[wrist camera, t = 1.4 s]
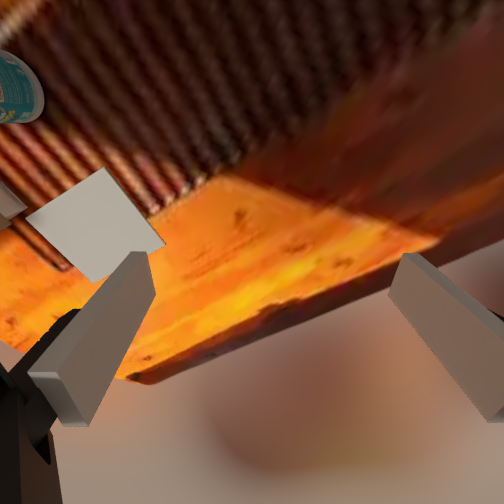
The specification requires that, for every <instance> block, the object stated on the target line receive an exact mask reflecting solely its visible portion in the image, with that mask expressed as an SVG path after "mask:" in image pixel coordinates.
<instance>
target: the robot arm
mask: <svg viewBox="0 0 504 504" xmlns="http://www.w3.org/2000/svg"><path fill="white" fill-rule="evenodd" d="M155 295H156V293H155V288H154V284H153V279H152V275H151V270H150V266H149V261H148V257H147V252H146V251H131V252H130V253H129V254H128V255H127V257H126V258H125V259H124V260H123V261H122V262H121V264H120V265H119V266H118V267H117V268H116V269H115V271H114V272H113V273H112V274H111V275H110V276H109V277H108V279H107V280H106V281H105V282H104V283H103V284H102V286H101V287H100V288H99V289H98V290H97V291H96V293H95V294H94V295H93V296H92V297H91V298H90V300H89V301H88V302H87V303H86V304H85V305H84V307H83V308H82V309H72V310H71V311H69V312H68V313H66V314H65V315H63V316H62V317H60V318H59V319H58V320H57V321H56V322H55V323H54V324H53V325H52V326H51V327H50V329H49V331H48V332H46V333H45V334H44V335H43V336H42V337H41V338H40V341H37V343H36V344H35V345H34V346H33V347H32V348H31V349H30V350H29V351H28V352H27V353H26V354H25V356H23V358H22V359H21V360H20V361H19V362H18V363H17V364H16V365H15V366H14V367H13V368H12V369H11V370H10V372H9V373H8V372H7V371H6V370H5V368H4V367H3V365H2V364H1V363H0V504H63V503H62V495H61V489H60V482H59V475H58V468H57V462H56V455H55V448H54V441H53V435H52V433H51V431H50V428H51V426H52V424H53V423H54V421H55V420H56V418H57V417H58V419H59V420H60V422H61V423H62V425H63V426H64V427H88V426H89V424H90V422H91V420H92V418H93V417H94V415H95V413H96V411H97V409H98V407H99V405H100V403H101V401H102V399H103V397H104V395H105V393H106V391H107V389H108V387H109V385H110V383H111V381H112V379H113V377H114V376H115V374H116V372H117V370H118V368H119V366H120V364H121V362H122V360H123V358H124V356H125V354H126V352H127V350H128V348H129V346H130V344H131V342H132V340H133V338H134V336H135V335H136V333H137V331H138V329H139V327H140V325H141V323H142V321H143V319H144V317H145V315H146V313H147V311H148V309H149V307H150V305H151V303H152V301H153V299H154V297H155ZM388 296H389V297H390V299H391V300H392V301H393V303H394V304H395V305H396V306H397V307H398V309H399V310H400V311H401V313H402V314H403V315H404V316H405V318H406V319H407V320H408V322H409V323H410V324H411V325H412V326H413V328H414V329H415V330H416V332H417V333H418V334H419V335H420V337H421V338H422V339H423V341H424V342H425V343H426V344H427V346H428V347H429V348H430V349H431V351H432V352H433V353H434V354H435V356H436V357H437V358H438V359H439V361H440V362H441V363H442V365H443V366H444V367H445V368H446V370H447V371H448V372H449V374H450V375H451V376H452V377H453V378H454V380H455V381H456V382H457V384H458V385H459V386H460V388H461V389H462V390H463V391H464V392H465V394H466V395H467V396H468V398H469V399H470V400H471V401H472V403H473V404H474V405H475V406H476V408H477V409H478V410H479V411H480V413H481V414H482V415H483V417H484V418H485V419H486V420H487V422H489V423H490V422H491V423H492V422H493V423H494V422H495V423H496V422H504V317H502V316H500V315H498V314H497V313H495V312H492V311H491V310H489V309H487V308H485V307H484V306H483V305H482V304H480V303H479V302H478V301H477V300H475V299H474V298H473V297H472V296H470V295H469V294H468V293H467V292H465V291H464V290H463V289H461V288H460V287H459V286H458V285H457V284H455V283H454V282H453V281H452V280H450V279H449V278H448V277H447V276H445V275H444V274H443V273H442V272H440V271H439V270H438V269H437V268H435V267H434V266H433V265H432V264H430V263H429V262H428V261H427V260H425V259H424V258H423V257H422V256H420V255H419V254H418V253H403V255H402V258H401V260H400V263H399V266H398V269H397V271H396V274H395V277H394V280H393V282H392V285H391V288H390V291H389V293H388Z"/></svg>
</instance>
